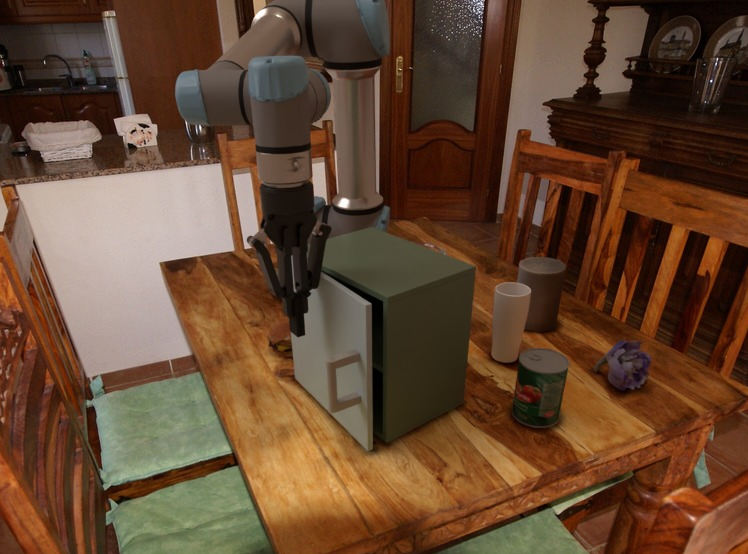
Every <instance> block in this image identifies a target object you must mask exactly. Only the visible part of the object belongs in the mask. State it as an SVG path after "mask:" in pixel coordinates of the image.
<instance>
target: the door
mask: <svg viewBox="0 0 748 554" xmlns="http://www.w3.org/2000/svg"><path fill="white" fill-rule="evenodd" d="M291 260H292V272H293V259H292V256H291ZM293 285H294V272H293ZM294 292H296V290H295V286H294ZM309 292H311V295H310V296H309V297H308V313H305V314H304V321H305V335H304V336H301V337H296V336H295V335H294V334H293V333H292V332H291V340H292V351H293V357H292V360H293V371H294V379H295V380H296V381H297V382H298V383H299V384H300V385H301V386H302V387H303V388H304V389H305V390H306V391H307V392H308V393H309V394H310V395H311V396H312V397H313V398H314V399H315V400H316V401H317V402H318V403H319V404H320V405H321V406H322V408H324V409H325V410H326V411H327V412H328V413H329V414H330V415H331V416H332V417H333V418H334V419H335V420H336V421H337V422H338V423H339V424H340V425H341V426H342V427H343V428H344V429H345V430H346V431H347V432H348V433H349V434H350V435H351V436H352V437H353V438H354V439H355V440H356V441H357V443H359V444H360V445H361V446H362V447H363V448H364V449H365V450H366V451H367V452H370V451H373V449H374V440H373V439H374V433H373V408H372V304H371V303H369V302H368V301H366V300H365V299H363V298H362V297H360V296H359V295H357V294H355V293H354V292H352V291H351V290H349V289H348V288H346V287H345V286H343V285H342V284H340V283H338V282H337V281H335V280H334V279H332V278H331V277H329V276H328V275H326V274H324V273H323V272H321V275H320V281H319V286H318V288H317V289H312V290H311V291H309Z"/></svg>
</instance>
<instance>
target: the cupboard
mask: <svg viewBox="0 0 748 554" xmlns="http://www.w3.org/2000/svg"><path fill="white" fill-rule="evenodd" d="M309 249H310V244H308V252H307V262H308V256H309ZM476 271H477V265H474V264H471V263H468V262H465V261H463V260H461V259H457V258H455V257H452V256H450V255H447V254H445V253H442V252H439V251H436V250H434V249H431V248H429V247H426V246H424V245H421V244H418V243H415V242H413V241H410V240H407V239H404V238H402V237H399V236H397V235H394V234H391V233H389V232H388V233H386V232H384V231H381V230H378V229H376V228H373V227H370V228H366V229H363V230H359V231H355V232H351V233H348V234H344V235H340V236H336V237H333V238H329V239H327V241H326V245H325V251H324V257H323V263H322V269H321V272H323V273H324V274H326V275H328V276H329V277H331V278H332V279H334V280H335V281H337V282H338V283H340V284H342V285H343V286H345V287H346V288H348V289H349V290H351V291H352V292H354V293H355V294H357V295H359V296H360V297H362V298H363V299H365V300H366V301H368V302H369V303H371V304H372V408H373V435H375V436H376V437H378V438H379V439H381V440H382V442H384V443H386V444H388V443H390V442H392V441H394V440H396V439H398V438H400V437H401V436H404V435H405V434H408V433H409V432H411V431H413V430H416V429H417V428H418V427H421V426H422V425H424V424H426V423H429V422H430V421H433V420H435V419H436V418H438V417H440V416H442V415H444V414H445V413H448V412H450V411H451V410H453V409H455V408H457V407H459V406H461V405H463V404H464V403H465V393H466V381H467V371H468V363H469V361H468V359H469V349H470V338H471V327H472V315H473V304H474V293H475V282H476Z"/></svg>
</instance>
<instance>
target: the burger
mask: <svg viewBox="0 0 748 554" xmlns="http://www.w3.org/2000/svg"><path fill="white" fill-rule="evenodd" d="M266 339H267V341H268V347H270V348H271V350H272V352H274V353H275V354H277V355H283V356H284V357H286V358H293V351H292V340H291V332H290V326H289V320H288V321H283V322H280V323H278V324H276V325H274V326H273V327H271V329H269V331H268V333H267V336H266Z"/></svg>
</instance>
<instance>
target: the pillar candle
mask: <svg viewBox="0 0 748 554" xmlns="http://www.w3.org/2000/svg"><path fill="white" fill-rule="evenodd" d="M517 270H518V271H517V279H516V283H521V284H524V285H526V286H528V287H529V288H530V289H531V299H530V306H529V312H528V316H527V320H526V324H525V328H524V331H528V332H537V333H538V332H541V333H543V332H550V331H553V330H554V329H555V328H556V327H557V325H558V316H559V312H560V306H561V300H562V296H563V295H562V294H563V287H564V283H565V277H566V270H567V265H566V264H565V263H564V262H563V261H561V260H559V259H555V258H552V257H547V256H545V257H543V256H532V257H527V258H525V259H521V260H520V261H519V263H518V269H517Z"/></svg>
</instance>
